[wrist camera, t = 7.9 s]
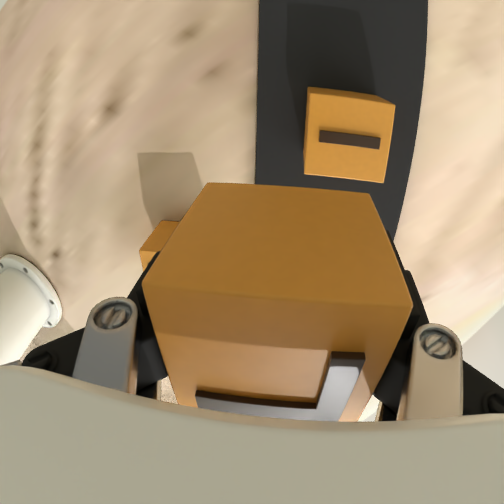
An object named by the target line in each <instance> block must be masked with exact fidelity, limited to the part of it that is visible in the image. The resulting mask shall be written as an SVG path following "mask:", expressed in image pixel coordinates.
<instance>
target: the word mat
mask: <svg viewBox="0 0 504 504" xmlns="http://www.w3.org/2000/svg"><path fill="white" fill-rule="evenodd" d="M427 16H428V0H260V4H259V50H258V94H257V138H256V180H255V184H257V185H274V186H289V187H303V188H316V189H328V190H339V191H350V192H360V193H368V194H370V196H371V199H372V201H373V203H374V205H375V208H376V210H377V212H378V214H379V217H380V219H381V221H382V224H383V226H384V228H385V230H388V231H389V233H390V235H391V238H392V240H393V241H394V237H395V233H396V229H397V225H398V221H399V217H400V213H401V209H402V205H403V201H404V196H405V192H406V187H407V182H408V177H409V173H410V167H411V162H412V157H413V151H414V146H415V140H416V134H417V127H418V121H419V114H420V106H421V98H422V89H423V80H424V70H425V57H426V42H427ZM308 87H317V88H327V89H336V90H344V91H351V92H358V93H365V94H371V95H376V96H378V97H380V98H383V99H385V100H387V101H389V102H391V103H393V104H395V113H394V121H393V128H392V135H391V142H390V149H389V155H388V161H387V167H386V173H385V178H384V182H383V183H378V182H371V181H363V180H355V179H346V178H337V177H328V176H318V175H308V174H304V156H303V150H304V136H305V121H306V105H307V88H308Z"/></svg>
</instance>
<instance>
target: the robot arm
mask: <svg viewBox="0 0 504 504" xmlns="http://www.w3.org/2000/svg"><path fill="white" fill-rule="evenodd" d="M182 219H183V218H182ZM180 222H181V221H180ZM178 225H179V224H178ZM176 228H177V227H176ZM174 231H175V230H174ZM385 231H386V233H387V236H388V238H389V240H390V243H391V245H392V248H393V250H394V253H395V255H396V258H397V261H398V263H399V266H400V269H401V271H402V274H403V277H404V279H405V282H406V285H407V288H408V290H409V293H410V296H411V299H412V302H413V308H412V311H411V313H410V316H409V318H408V320H407V323H406V325H405V327H404V330H403V332H402V334H401V337H400V339H399V341H398V343H397V345H396V348H395V350H394V352H393V354H392V356H391V358H390V360H389V363H388V365H387V367H386V369H385V371H384V373H383V375H382V377H381V379H380V381H379V383H378V384H377V386H376V388H375V390H374V392H373V394H372V395H374V396H375V397H376V398H377V399H378V400H380V402H379V405H378V409H377V414H376V418H375V422H339V421H311V420H294V419H281V418H270V417H260V416H251V415H243V414H235V413H227V412H221V411H214V410H208V409H202V408H196V407H190V406H185V405H179V404H174V403H169V402H164V401H161V379H163V378H165V377H167V376H168V373H167V370H166V367H165V364H164V361H163V358H162V355H161V352H160V348H159V345H158V342H157V339H156V335H155V332H154V328H153V325H152V322H151V318H150V314H149V311H148V307H147V304H146V300H145V296H144V292H143V288H142V281H143V279H144V278H145V276H146V274H147V273H148V271H149V270H150V268H151V266H152V265H153V263H154V262H155V260H156V258H157V257H158V255H159V254H160V252H161V251H162V250H161V251H158V252H156V253H155V255H154V256H153V258H152V259H151V261H150V262H149V264H148V265H147V267H146V269H145V270H144V272H143V273H142V275H141V276H140V278H139V280H138V281H137V283H136V284H135V286H134V288H133V289H132V291H131V292H130V294H129V296H128V297H127V298H125V297H113V298H108V299H106V300H103V301H101V302H100V303H98V304H97V305H96V306H95V307H94V308H93V309H92V310H91V312H90V314H89V316H88V319H87V323H86V326H85V328H82V329H80V330H77V331H75V332H73V333H70V334H68V335H65V336H63V337H61V338H58V339H56V340H54V341H51V342H49V343H46V344H44V345H42V346H39V347H37V348H35V349H34V350H32V351H31V352H30V353H29V354H27V356H26V357H25V359H24V360H23V363H21V361H20V360H19V359H20V357H21V356H22V355H23V353H24V352H25V350H26V349H27V347H28V346H29V344H30V343H31V341H32V340H33V338H34V337H35V336H36V334H37V333H38V331H39V330H40V329H41V327H46V328H51V327H54V326H55V325H57V323H58V322H59V320H60V319H61V316H62V308H61V303H60V301H59V298H58V296H57V294H56V292H55V290H54V288H53V287H52V285H51V284H50V282H49V281H48V280H47V279H46V277H45V276H44V275H43V274H42V273H41V272H40V271H39V270H38V269H37V268H36V267H35V266H34V265H33V264H31V263H30V262H28V261H27V260H25V259H24V258H22V257H20V256H16V255H12V254H8V255H5V256H3V257H2V258H1V259H0V504H504V389H503V388H501V387H500V386H499V385H497V384H496V383H495V382H493V381H492V380H490V379H489V378H487V377H486V376H485V375H483V374H482V373H480V372H479V371H478V370H476V369H475V368H473V367H472V366H471V365H469V364H468V363H466V362H465V361H463V358H462V346H461V342H460V340H459V338H458V337H457V335H456V334H455V333H454V332H453V331H452V330H450V329H449V328H447V327H445V326H443V325H440V324H434V323H429V321H428V318H427V315H426V312H425V309H424V306H423V304H422V301H421V298H420V295H419V293H418V290H417V288H416V285H415V282H414V280H413V277H412V275H411V273H410V271H408V270H404V267H403V265H402V262H401V260H400V257H399V255H398V252H397V250H396V247H395V245H394V242H393V240H392V238H391V235H390V233H389V231H388V230H385ZM172 234H173V233H172ZM170 237H171V236H170ZM168 240H169V239H168ZM166 243H167V242H166ZM164 246H165V245H164ZM162 249H163V248H162Z"/></svg>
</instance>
